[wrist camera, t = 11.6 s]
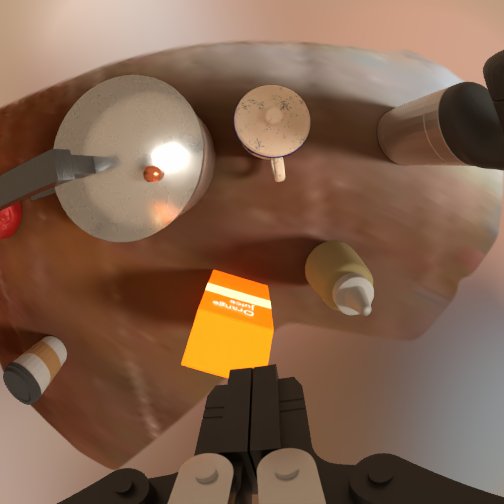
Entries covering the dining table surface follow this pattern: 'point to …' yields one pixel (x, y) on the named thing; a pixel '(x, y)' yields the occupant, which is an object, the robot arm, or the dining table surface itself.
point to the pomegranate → (10, 220)
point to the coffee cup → (35, 369)
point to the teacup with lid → (272, 124)
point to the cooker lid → (118, 160)
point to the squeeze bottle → (340, 278)
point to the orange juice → (230, 326)
